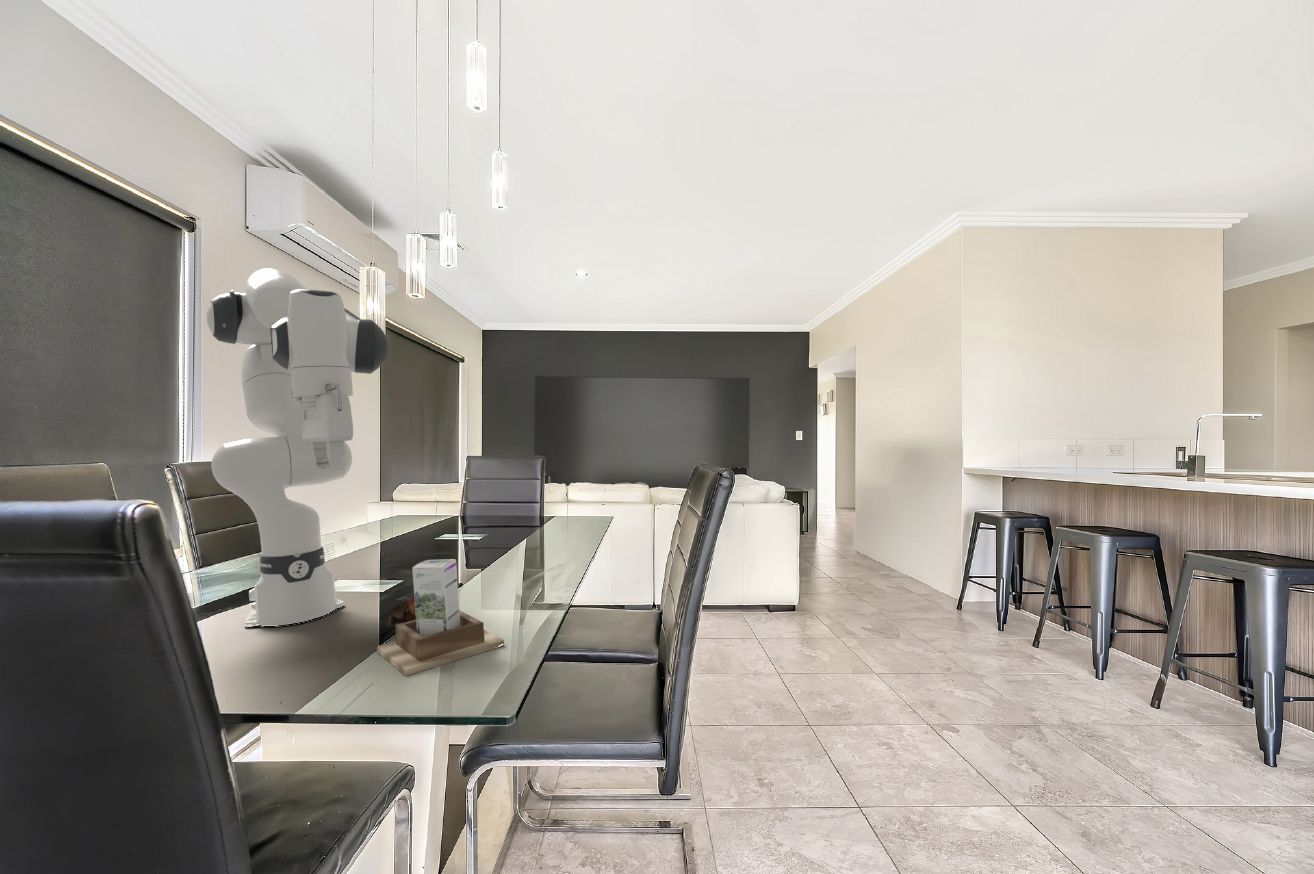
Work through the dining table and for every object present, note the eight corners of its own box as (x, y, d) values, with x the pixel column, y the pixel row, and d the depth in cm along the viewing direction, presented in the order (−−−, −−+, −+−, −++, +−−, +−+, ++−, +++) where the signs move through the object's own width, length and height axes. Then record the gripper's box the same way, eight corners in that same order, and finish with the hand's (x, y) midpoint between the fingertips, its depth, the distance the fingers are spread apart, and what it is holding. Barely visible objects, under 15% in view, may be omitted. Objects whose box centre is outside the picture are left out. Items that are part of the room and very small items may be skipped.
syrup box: (462, 636, 111) (457, 557, 111) (448, 649, 105) (442, 565, 105) (432, 637, 112) (427, 558, 111) (416, 649, 106) (410, 566, 105)
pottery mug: (403, 648, 111) (384, 607, 113) (398, 656, 119) (381, 618, 120) (465, 616, 118) (446, 578, 120) (457, 626, 126) (439, 590, 127)
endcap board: (377, 651, 109) (375, 626, 109) (469, 626, 120) (467, 603, 120) (405, 676, 97) (403, 648, 97) (504, 645, 108) (502, 620, 108)
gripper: (360, 381, 96) (366, 469, 97) (329, 390, 112) (334, 465, 112) (315, 381, 92) (322, 473, 93) (289, 390, 108) (295, 469, 108)
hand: (328, 469), depth 103 cm, fingers open, 8 cm apart
